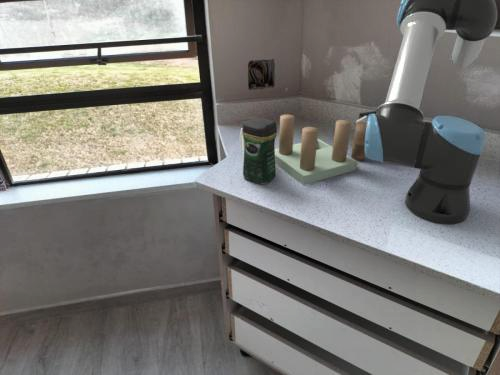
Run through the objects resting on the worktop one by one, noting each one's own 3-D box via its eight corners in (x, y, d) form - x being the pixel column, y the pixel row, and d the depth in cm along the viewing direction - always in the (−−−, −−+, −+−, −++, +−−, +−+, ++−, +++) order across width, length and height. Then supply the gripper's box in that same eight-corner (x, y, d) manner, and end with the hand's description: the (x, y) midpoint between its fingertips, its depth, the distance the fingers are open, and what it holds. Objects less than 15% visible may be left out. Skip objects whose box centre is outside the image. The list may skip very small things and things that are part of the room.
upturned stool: (356, 169, 115) (363, 124, 107) (302, 185, 107) (306, 137, 99) (317, 146, 130) (321, 105, 122) (268, 158, 122) (269, 115, 114)
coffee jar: (279, 177, 111) (282, 118, 102) (264, 187, 106) (265, 126, 96) (254, 168, 116) (254, 111, 107) (238, 178, 111) (237, 119, 101)
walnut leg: (367, 159, 121) (373, 125, 115) (357, 162, 119) (362, 127, 113) (358, 154, 124) (363, 120, 118) (348, 157, 122) (353, 123, 116)
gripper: (433, 131, 132) (409, 149, 119) (368, 115, 147) (341, 130, 133) (438, 111, 128) (414, 128, 115) (371, 96, 143) (343, 110, 129)
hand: (375, 129), depth 124 cm, fingers open, 13 cm apart
